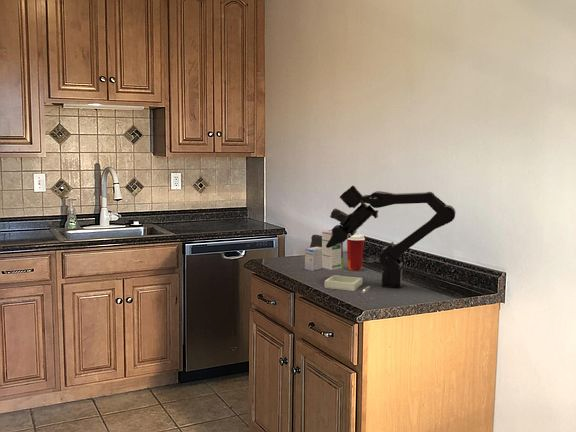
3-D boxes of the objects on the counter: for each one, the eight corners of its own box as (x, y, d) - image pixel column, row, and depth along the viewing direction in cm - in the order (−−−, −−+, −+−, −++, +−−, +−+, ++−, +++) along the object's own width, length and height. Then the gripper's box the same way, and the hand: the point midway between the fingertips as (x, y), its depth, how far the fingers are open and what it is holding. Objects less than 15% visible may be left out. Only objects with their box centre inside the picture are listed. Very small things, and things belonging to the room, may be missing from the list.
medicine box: (315, 266, 269) (316, 246, 268) (324, 268, 266) (325, 247, 265) (304, 269, 263) (304, 248, 262) (313, 271, 260) (313, 250, 259)
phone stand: (314, 265, 273) (315, 237, 271) (305, 262, 277) (306, 235, 276) (330, 262, 278) (331, 235, 277) (321, 260, 283) (321, 233, 281)
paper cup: (367, 269, 266) (368, 235, 264) (356, 271, 260) (357, 237, 259) (352, 266, 271) (353, 233, 269) (341, 269, 266) (342, 235, 264)
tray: (362, 284, 237) (362, 277, 237) (354, 291, 227) (354, 283, 227) (333, 281, 241) (333, 274, 241) (324, 287, 231) (324, 280, 231)
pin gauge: (369, 285, 232) (371, 287, 232) (366, 287, 232) (368, 289, 232) (363, 289, 224) (365, 292, 224) (360, 291, 225) (362, 294, 225)
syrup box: (331, 270, 239) (331, 231, 237) (321, 267, 243) (321, 229, 242) (343, 268, 242) (343, 230, 240) (333, 265, 247) (333, 228, 245)
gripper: (348, 199, 247) (320, 226, 252) (338, 203, 230) (307, 233, 234) (368, 220, 246) (340, 247, 250) (359, 226, 228) (328, 255, 233)
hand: (329, 245), depth 242 cm, fingers closed on syrup box, 8 cm apart
